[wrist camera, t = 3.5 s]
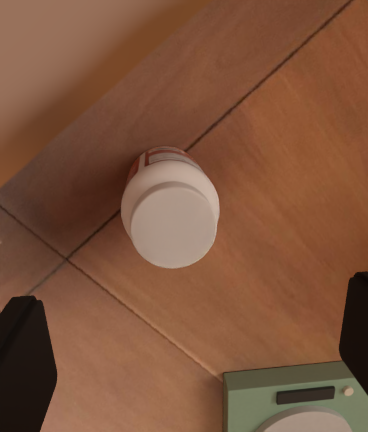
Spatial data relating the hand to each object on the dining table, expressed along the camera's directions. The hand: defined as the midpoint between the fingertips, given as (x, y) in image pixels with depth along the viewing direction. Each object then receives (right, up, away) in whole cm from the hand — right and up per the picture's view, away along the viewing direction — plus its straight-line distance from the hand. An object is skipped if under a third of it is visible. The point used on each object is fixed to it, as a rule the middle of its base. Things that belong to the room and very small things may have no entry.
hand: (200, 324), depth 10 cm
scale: (+12, -20, +29) cm, 37 cm away
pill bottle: (-2, +6, +18) cm, 19 cm away
